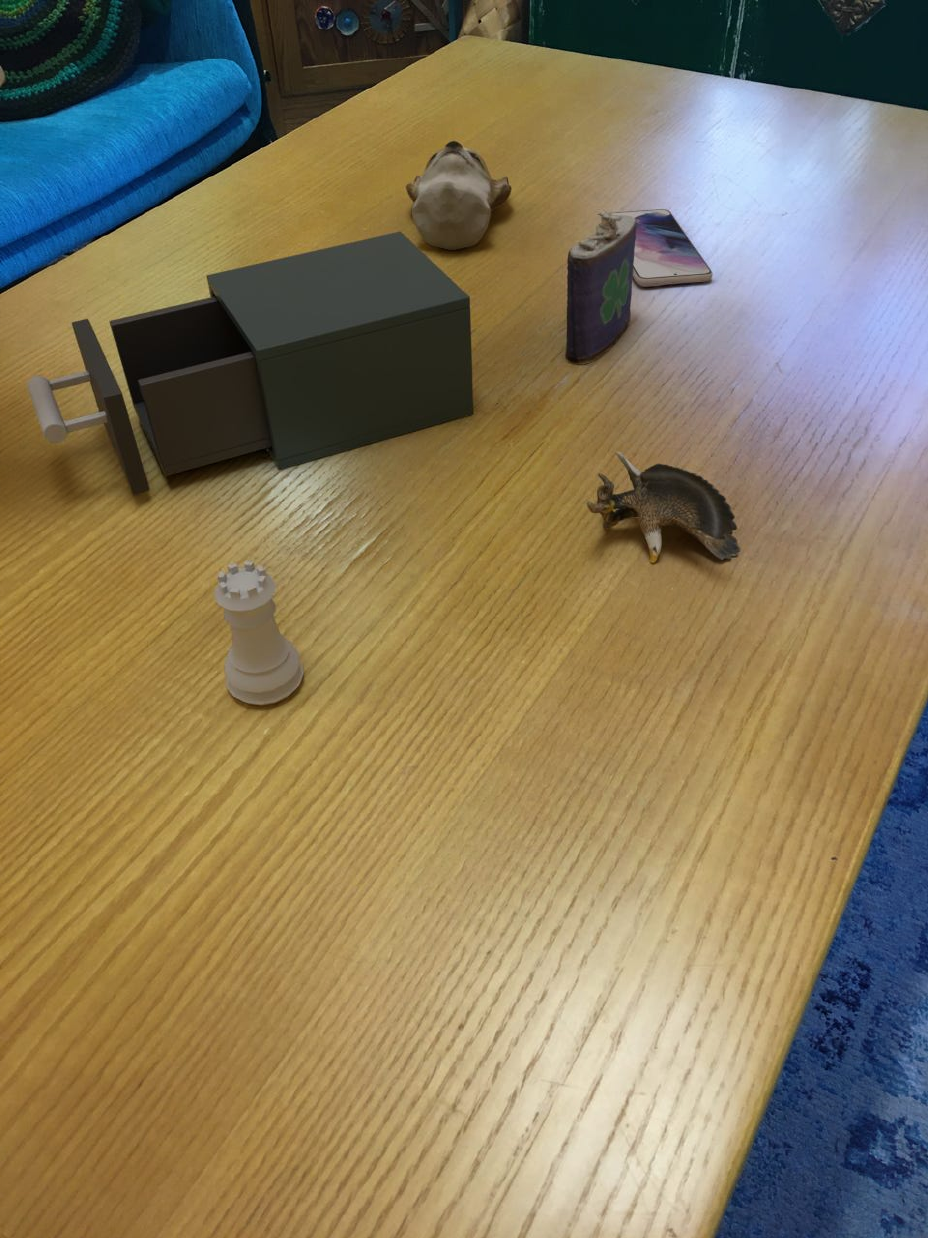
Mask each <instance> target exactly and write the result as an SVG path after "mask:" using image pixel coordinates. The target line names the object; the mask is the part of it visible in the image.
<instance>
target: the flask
mask: <svg viewBox="0 0 928 1238" xmlns="http://www.w3.org/2000/svg"><path fill="white" fill-rule="evenodd" d="M610 213H611V212H607V211H606V210H602V211H597V212H596V215H597V216H599V217H600V218H601V217H602V219H603V221H601V222H600V223H599V224H598V226H597V227H596V229H595V233H594V234H593V235H591V236H590V237H587V238H586V239H585V240H582V239H580V240H579V241H578V243H576V244H573V246H571V248H570V249H569V250H568V254H567V259H566V261H567V262H566V263H567V268H566V269H567V275H566V278H567V280H566V284H567V285H566V286H567V288H566V297H567V298H566V348H565V359H566V362H567V363H571V364H574V365H585V364H589V363H591V362H593V361H595V360H597V359H598V358H600V357H601V356H603V355H604V354H606V352H608V351H610V349H612V347H613V346H614V345H615V344H617V343H616V342H617V341H618V340H619V339H620V338H621V337H622V335H623V334H624V333H625V332H626V331H627V329H628V327H629V324H630V320H631V311H632V310H631V303H632V295H633V278H634V277H633V264H634V251H635V240H636V229H637V221H636V219H635V218H633V217H632V216H627V215H614V214H610Z"/></svg>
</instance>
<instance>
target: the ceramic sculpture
mask: <svg viewBox="0 0 928 1238" xmlns="http://www.w3.org/2000/svg"><path fill="white" fill-rule="evenodd" d="M405 189H406V192H407V195H408V197H409V199H410V200H411V201H412V203H413V205H412V207H411V215H412V216H411V217H412V220H413V223H414V226H415V228H416V230H417V232H418V234H419V235H420V236H421V238H422V239H423V240H424V242H426V244H428V245H430V246H432V247H438V248H441V249H443V248H444V249H443V250H447V249H448V251H457V250H461V249H464V247H465V248H469V247H473V246H475V245H476V244H477V243H478V242H480V240H482V238H483V236H484V235H485V233H486V231H487V229H488V227H489V224H490V220H491V216H492V211H494V210H496V209H497V208H500V207H501V206H503V205H504V204H505V203H506V202H507V200H508V199H509V197H510V195H511V193H512V190H513V189H512V185H510V181H509V177H508V176H504V177H502V178H498V179H493V178H492V176H491V172H490V171H489V169H488V166H487V163H486V161H485V159H484V158H483V157H482V156H481V155H480V154H479V153H478V152H477V151H476V150H474V149H471V148H467V147H463V145H462V144H461V143H460V142H459V141H456V140H451V141H449V142H447V143H446V144H445V146H444V147H443V148H442V149H439V150H437V151H436V152H435V153H434V154H433V155H431V156H430V158H429V159H428V160H427V163H426V165H425V168H424V171H423V173H422V174H421V176H419V175H416V176H415V178H414V180H413V183H411V182H409V183H406V185H405ZM456 249H457V250H456Z"/></svg>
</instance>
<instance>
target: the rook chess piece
mask: <svg viewBox="0 0 928 1238" xmlns="http://www.w3.org/2000/svg"><path fill="white" fill-rule="evenodd" d="M255 565H256V564H255V562H254V561H251V560H244V567H240V568H239V567H238V564H237V562H233V563H231V564H229V565H227V567H226V568H227V571H228V573H227V572H225V571H220V572H219V574H218V576H217V580H218V583H217V585H216V587H215V589H214V590H213V594H214V595H213V596H214V600H215V601H216V604H218V606H220V607H221V608H223V609H224V610H223V619H224V620H225V622H226V623H227V625H229V627H230V631H231V645H230V648H229V649H228V651H227V652H228V654H227V655H226V658H225V660H224V665H223V666H224V668H223V669H224V677H225V682H226V689H227V690H228V691H229V692H230V694H231V696H232V697H233V698H236V699H238V700H239V701H241V702H244V703H246V704H248V705H252V706H253V705H255V706H263V707H264V706H268V705H273V704H276V703H279V702H281V701H283V700H285V699H287V698H289V696H290V695H291V694H292V693H293V692H294V691H295V690H296V689H297V688H298V687H299V686H300V685H301V682H302V679H303V676H304V668H303V662H302V661H301V658H300V653H299V651H298V649H297V648H296V647H295V646H294V644H293V643H292V642H291V641H290V640H289V639H288V638H286V636H285V635H284V634H283V633H281V631H280V628H279V626H278V624H277V622H276V619H275V614H276V610H277V609H276V608H277V607H276V603H275V601H274V600H273V599H272V598H273V597H274V594H275V592H276V591H277V588H276V581H275V580H274V579H273V578H272V576H271V575H270V574H268V573H266V569H265V568H264V567H263V566H262V565H261V564H259V565H258V566H257V567H256V566H255Z"/></svg>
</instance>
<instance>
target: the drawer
mask: <svg viewBox="0 0 928 1238" xmlns="http://www.w3.org/2000/svg"><path fill="white" fill-rule="evenodd" d="M109 325H110V329H111V332H112V336H113V340H114V343H115V347H116V350H117V353H118V354H117V355H118V357H119V361H120V364H121V367H122V371H123V375H124V378H125V381H126V385H127V389H128V392H129V393H128V394H129V396H130V399H131V403H132V406H133V410H134V411H135V413H136V416H137V419H138V420H139V422H140V425H141V426H142V429H143V431H144V433H145V435H146V437H147V440H148V442H149V444H150V446H151V449H152V451H153V453H154V455H155V456H156V459H157V461H158V463H159V466H160V467H161V470H162V472H163V474H164V476H165V477H168V476H171V475H175V474H178V473H179V474H180V473H182V472H186V471H189V470H193V469H196V468H200V467H204V466H207V465H210V464H211V465H212V464H215V463H219V462H221V461H222V462H223V461H225V460H229V459H232V458H235V457H239V456H243V455H245V454H246V455H247V454H249V453H254V452H257V451H261V450H264V449H266V448H268V447H272V443H271V438H270V432H269V427H268V422H267V416H266V411H265V406H264V400H263V395H262V389H261V384H260V379H259V373H258V368H257V363H256V356H255V354H254V353H253V351H252V350H251V348H250V347H249V345H248V344H247V342H246V341H245V339H244V338H243V336H242V335H241V333H240V332H239V330H238V329H237V327H236V326H235V324H234V323H233V321H232V320H231V318H230V317H229V315H228V314H227V312H226V311H225V309H224V308H223V306H222V305H221V303H220V302H219V300H218V299H217V297H216V296H214V297H211V296H210V297H206V298H202V299H201V298H200V299H197V300H193V301H188V302H186V303H185V302H184V303H180V304H175V305H172V306H168V307H163V308H159V309H155V310H150V311H146V312H141V313H137V314H133V315H128V316H124V317H120V318H116V319H111V320H109ZM71 327H72V329H73V333H74V336H75V339H76V342H77V346H78V350H79V352H80V355H81V358H82V361H83V365H84V368H85V370H84V371H81V372H76V373H71V374H68V375H64V376H60V377H55V378H52V379H48V378H47V377H45V376H43V375H33V376H31V378H29V379H28V381H27V383H26V385H27V386H26V387H27V390H28V393H29V397H30V399H31V402H32V405H33V408H34V412H35V414H36V417H37V420H38V423H39V426H40V429H41V432H42V435H43V438H44V439H45V440H46V441H47V442H48V443H51V444H59V443H62V442H63V441H64V440H65V439H66V438H67V436H68V434H69V433H73V432H76V431H80V430H83V429H87V428H92V427H96V426H100V425H103V426H104V428H105V430H106V433H107V435H108V438H109V441H110V442H111V445H112V448H113V450H114V453H115V454H116V457H117V460H118V462H119V464H120V467H121V470H122V471H123V474H124V477H125V479H126V481H127V485H128V486H129V489H130V492H131V494H132V495H133V496H136V495H138V494H142V493H146V492H149V491H150V490H151V488H150V485H149V481H148V478H147V474H146V471H145V468H144V464H143V460H142V457H141V454H140V451H139V448H138V444H137V440H136V437H135V433H134V430H133V427H132V423H131V420H130V416H129V413H128V409H127V406H126V403H125V398H124V396H123V393H122V390H121V388H120V385H119V383H118V381H117V379H116V377H115V375H114V373H113V370H112V368H111V366H110V363H109V361H108V360H107V357H106V355H105V353H104V350H103V349H102V346H101V344H100V342H99V339H98V338H97V334H96V333H95V330H94V328H93V326H92V324H91V322H90V320H89V319H88V318H84V319H81V320H77V321H72V322H71ZM85 383H86V384H87V383H89V384H90V389H91V391H92V394H93V397H94V400H95V403H96V407H97V410H98V412H95V413H91V414H87V415H84V416H80V417H76V418H72V419H68V420H64V419H63V416H62V414H61V411H60V408H59V405H58V402H57V400H56V396H55V394H54V391H58V390H62V389H66V388H69V387H74V386H79V385H81V384H85Z"/></svg>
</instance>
